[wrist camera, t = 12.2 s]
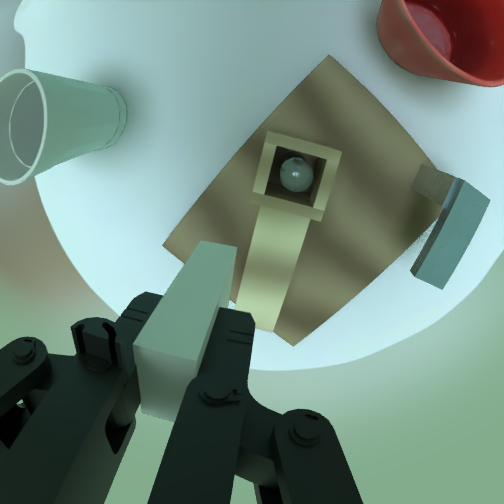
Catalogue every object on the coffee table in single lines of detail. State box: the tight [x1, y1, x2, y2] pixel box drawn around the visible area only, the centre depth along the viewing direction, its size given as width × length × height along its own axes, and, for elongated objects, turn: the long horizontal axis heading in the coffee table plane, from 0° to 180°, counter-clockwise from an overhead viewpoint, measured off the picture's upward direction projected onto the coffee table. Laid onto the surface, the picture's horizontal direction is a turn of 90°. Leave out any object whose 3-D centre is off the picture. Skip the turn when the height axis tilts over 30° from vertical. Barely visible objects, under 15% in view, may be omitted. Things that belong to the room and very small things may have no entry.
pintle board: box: [162, 55, 443, 346], centre depth 26 cm, size 22×17×1 cm
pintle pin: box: [280, 151, 313, 192], centre depth 21 cm, size 2×2×6 cm
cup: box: [0, 68, 127, 185], centre depth 19 cm, size 8×8×12 cm
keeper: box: [410, 164, 490, 290], centre depth 21 cm, size 3×8×7 cm, turn 159°
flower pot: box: [377, 0, 504, 87], centre depth 14 cm, size 11×11×10 cm
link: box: [234, 130, 342, 332], centre depth 24 cm, size 15×5×5 cm, turn 167°
